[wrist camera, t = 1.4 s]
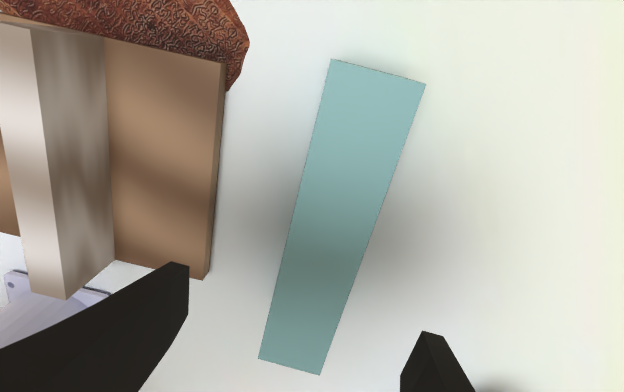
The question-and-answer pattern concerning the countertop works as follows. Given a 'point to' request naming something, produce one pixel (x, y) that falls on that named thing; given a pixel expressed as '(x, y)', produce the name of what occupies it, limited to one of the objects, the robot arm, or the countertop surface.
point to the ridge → (105, 153)
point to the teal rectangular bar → (336, 208)
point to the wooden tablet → (151, 25)
